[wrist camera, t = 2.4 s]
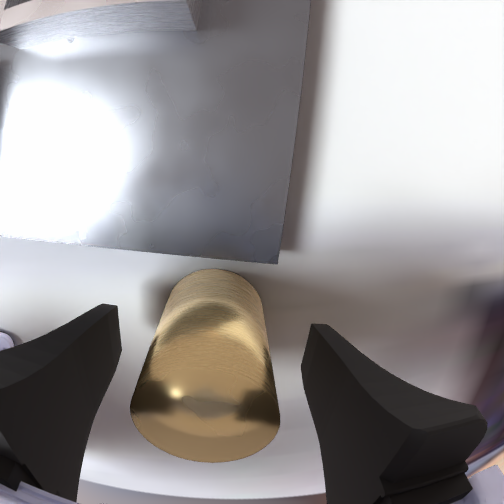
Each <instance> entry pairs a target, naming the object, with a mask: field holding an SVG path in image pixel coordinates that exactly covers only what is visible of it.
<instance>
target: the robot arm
mask: <svg viewBox="0 0 504 504" xmlns="http://www.w3.org/2000/svg"><path fill="white" fill-rule="evenodd" d="M121 351H122V347H121V338H120V329H119V319H118V307H117V306H116V305H109V304H101V305H99V306H97V307H95V308H93V309H91V310H89V311H88V312H86V313H84V314H82V315H81V316H79V317H77V318H75V319H74V320H72V321H70V322H69V323H67V324H65V325H63V326H61V327H59V328H57V329H55V330H53V331H51V332H49V333H48V334H46V335H43V336H41V337H39V338H37V339H34V340H32V341H29V342H27V343H24V344H21V345H18V346H15V347H14V344H13V341H12V339H11V338H10V336H8V335H7V334H5V333H2V332H0V504H79V503H76V500H77V492H78V484H79V478H80V472H81V467H82V462H83V457H84V453H85V448H86V444H87V440H88V437H89V433H90V430H91V426H92V423H93V420H94V418H95V415H96V413H97V410H98V408H99V406H100V404H101V401H102V399H103V397H104V395H105V393H106V391H107V389H108V386H109V384H110V382H111V380H112V378H113V375H114V373H115V371H116V368H117V365H118V362H119V358H120V355H121ZM301 372H302V379H303V386H304V390H305V394H306V398H307V401H308V404H309V408H310V411H311V414H312V418H313V421H314V424H315V428H316V431H317V435H318V439H319V443H320V449H321V456H322V462H323V470H324V478H325V487H326V498H327V504H504V475H503V473H502V472H501V470H500V468H499V467H498V465H494V466H492V467H489V468H487V469H485V470H483V471H481V472H478V473H476V474H474V475H473V476H471V477H470V478H469V479H468V478H467V477H466V475H465V472H467V470H468V465H467V464H466V462H465V460H466V459H467V458H468V457H469V456H470V454H471V453H472V452H473V451H474V449H475V448H476V447H477V446H478V444H479V443H480V442H481V440H482V439H483V437H484V435H485V433H486V430H487V422H486V420H485V419H484V417H483V416H482V414H481V413H480V412H479V410H478V409H477V407H476V406H474V405H469V404H465V403H461V402H457V401H453V400H449V399H446V398H443V397H440V396H437V395H434V394H432V393H429V392H426V391H424V390H422V389H420V388H417V387H415V386H413V385H411V384H409V383H407V382H405V381H403V380H401V379H399V378H398V377H396V376H394V375H393V374H391V373H389V372H388V371H386V370H384V369H383V368H381V367H380V366H379V365H377V364H376V363H374V362H373V361H372V360H370V359H369V358H368V357H366V356H365V355H364V354H362V353H361V352H360V351H359V350H357V349H356V348H355V347H354V346H353V345H351V344H350V343H349V342H348V341H347V340H346V339H344V338H343V337H342V336H341V335H340V334H338V333H337V332H336V331H335V330H334V329H332V328H331V327H330V326H328V325H327V324H311V328H310V332H309V336H308V340H307V344H306V348H305V352H304V356H303V360H302V364H301ZM101 504H104V503H101Z"/></svg>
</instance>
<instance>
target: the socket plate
mask: <svg viewBox="0 0 504 504" xmlns="http://www.w3.org/2000/svg"><path fill="white" fill-rule="evenodd" d="M310 4H311V0H0V236H1V237H10V238H19V239H28V240H37V241H46V242H55V243H65V244H74V245H83V246H93V247H103V248H112V249H122V250H132V251H142V252H152V253H162V254H172V255H182V256H193V257H203V258H214V259H224V260H235V261H246V262H257V263H267V264H278V258H279V251H280V245H281V238H282V231H283V224H284V218H285V211H286V204H287V197H288V189H289V182H290V175H291V168H292V160H293V153H294V145H295V137H296V129H297V121H298V113H299V105H300V97H301V88H302V80H303V71H304V62H305V53H306V44H307V34H308V25H309V15H310Z"/></svg>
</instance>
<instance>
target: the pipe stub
mask: <svg viewBox="0 0 504 504" xmlns="http://www.w3.org/2000/svg"><path fill="white" fill-rule="evenodd" d="M130 413H131V417H132V420H133V422H134V424H135V426H136V428H137V429H138V431H139V432H140V433H141V434H142V435H143V437H144V438H146V439H147V440H148V441H149V442H150V443H152V444H153V445H154V446H156V447H158V448H159V449H161V450H163V451H165V452H167V453H169V454H171V455H174V456H177V457H180V458H183V459H187V460H192V461H198V462H211V463H214V462H228V461H234V460H238V459H242V458H245V457H248V456H250V455H253V454H255V453H257V452H258V451H260V450H262V449H263V448H264V447H266V446H267V445H268V444H269V443H270V442H271V441H272V440H273V439H274V437H275V436H276V434H277V432H278V429H279V426H280V412H279V406H278V400H277V394H276V387H275V381H274V375H273V369H272V363H271V356H270V350H269V344H268V338H267V332H266V325H265V319H264V313H263V307H262V302H261V299H260V297H259V295H258V293H257V291H256V290H255V289H254V287H253V286H252V285H251V284H250V283H249V282H248V281H247V280H245V279H244V278H243V277H241V276H239V275H237V274H235V273H233V272H230V271H226V270H221V269H205V270H200V271H196V272H194V273H191V274H189V275H187V276H186V277H184V278H183V279H181V280H180V281H179V282H178V283H177V284H176V286H175V287H174V288H173V290H172V292H171V294H170V296H169V299H168V301H167V304H166V306H165V309H164V311H163V314H162V317H161V319H160V322H159V324H158V327H157V330H156V332H155V335H154V338H153V340H152V343H151V346H150V348H149V351H148V354H147V357H146V359H145V362H144V365H143V368H142V371H141V373H140V376H139V379H138V382H137V385H136V388H135V391H134V394H133V397H132V400H131V404H130Z"/></svg>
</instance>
